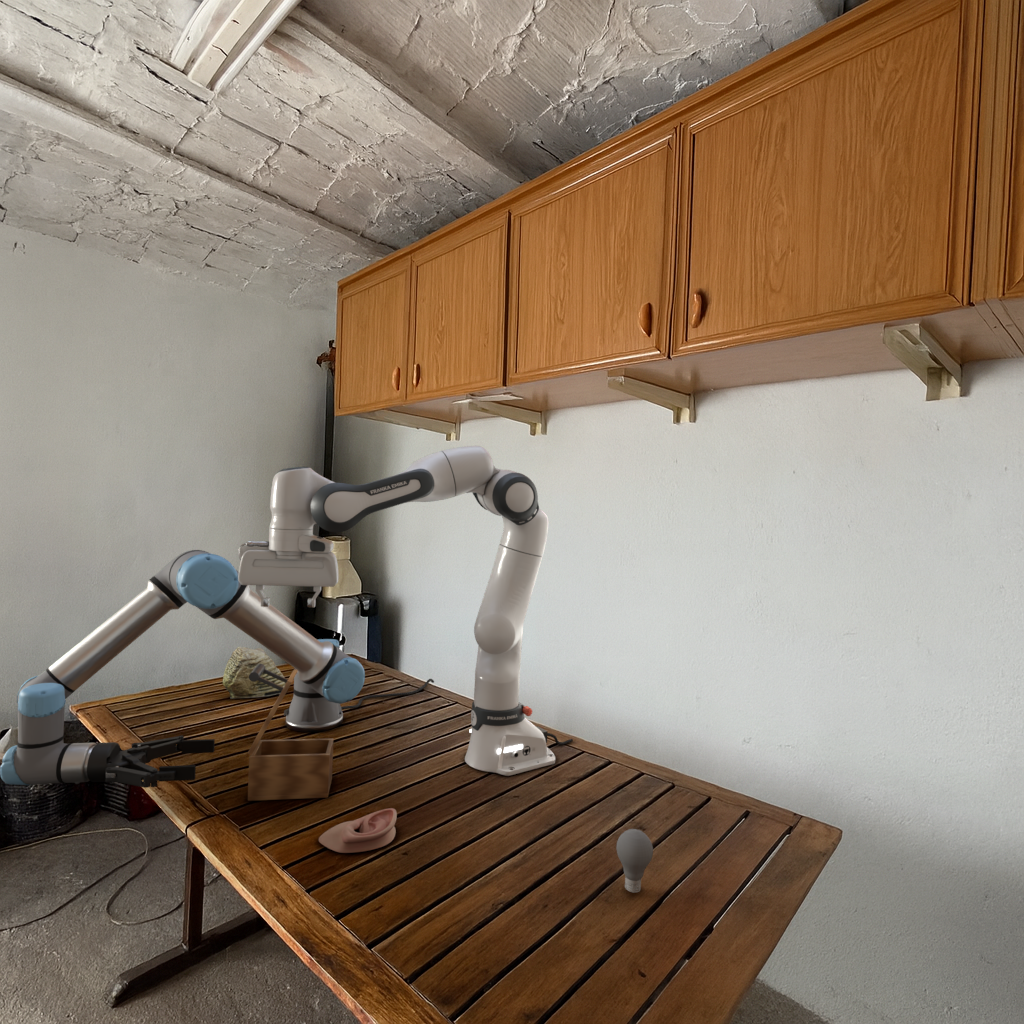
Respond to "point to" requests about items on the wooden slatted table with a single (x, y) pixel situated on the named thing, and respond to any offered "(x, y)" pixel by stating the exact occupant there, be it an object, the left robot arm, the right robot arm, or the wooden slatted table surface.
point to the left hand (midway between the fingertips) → (205, 758)
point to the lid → (256, 676)
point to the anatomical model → (362, 833)
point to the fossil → (240, 670)
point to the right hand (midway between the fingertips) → (288, 606)
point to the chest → (290, 769)
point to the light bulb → (634, 857)
